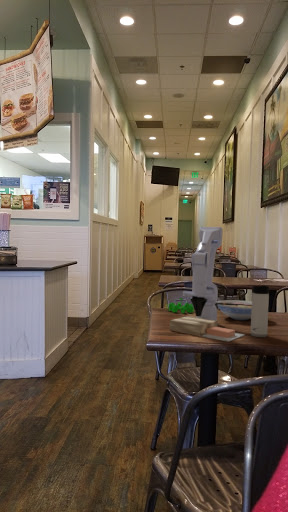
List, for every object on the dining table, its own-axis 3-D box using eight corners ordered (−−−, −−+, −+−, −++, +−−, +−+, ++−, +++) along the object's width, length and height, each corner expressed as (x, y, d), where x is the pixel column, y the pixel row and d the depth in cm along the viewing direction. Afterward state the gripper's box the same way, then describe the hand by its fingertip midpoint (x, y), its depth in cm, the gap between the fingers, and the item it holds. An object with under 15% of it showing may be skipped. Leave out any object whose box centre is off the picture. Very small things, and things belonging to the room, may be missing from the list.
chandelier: (200, 312, 209) (201, 299, 209) (185, 315, 197) (185, 301, 197) (177, 308, 218) (177, 295, 218) (160, 311, 207) (161, 298, 206)
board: (188, 325, 172) (188, 316, 172) (217, 330, 164) (217, 320, 164) (169, 330, 161) (169, 320, 161) (199, 336, 153) (200, 325, 153)
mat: (219, 331, 163) (219, 330, 163) (244, 335, 156) (244, 334, 156) (202, 336, 152) (202, 335, 152) (228, 341, 145) (228, 340, 145)
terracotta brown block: (213, 331, 160) (214, 326, 160) (234, 335, 154) (235, 330, 154) (206, 333, 155) (206, 328, 155) (227, 337, 150) (227, 332, 150)
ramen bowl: (262, 316, 202) (262, 299, 202) (272, 325, 179) (272, 306, 179) (211, 313, 204) (212, 297, 204) (215, 322, 182) (216, 304, 181)
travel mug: (253, 337, 153) (256, 285, 153) (248, 333, 160) (250, 283, 159) (269, 337, 154) (272, 285, 153) (263, 333, 160) (265, 284, 160)
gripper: (179, 281, 162) (177, 314, 163) (210, 284, 153) (209, 319, 154) (188, 280, 168) (187, 312, 168) (219, 283, 159) (218, 317, 159)
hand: (198, 316), depth 161 cm, fingers closed
